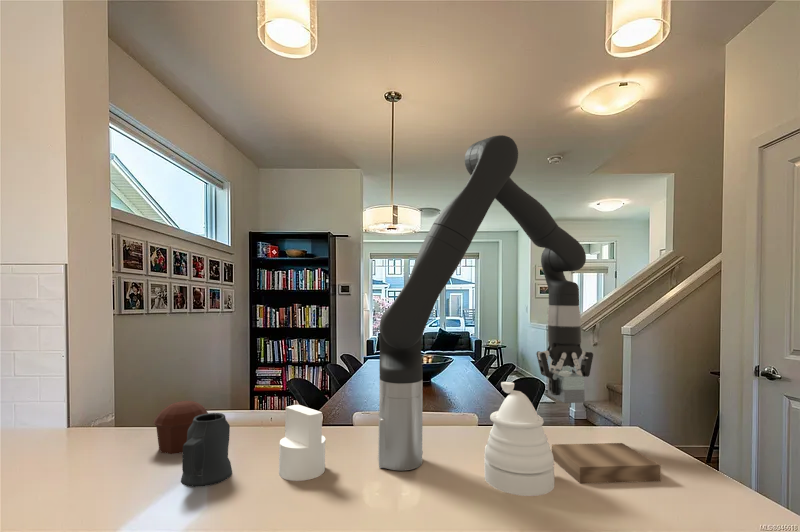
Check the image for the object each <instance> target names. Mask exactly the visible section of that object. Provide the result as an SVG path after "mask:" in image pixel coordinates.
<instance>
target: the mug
mask: <svg viewBox="0 0 800 532" xmlns="http://www.w3.org/2000/svg"><path fill="white" fill-rule="evenodd" d="M230 426H231V425H230V424H229V422H228V421H227V419H226V414H224V413H221V412H209V413H207V414H202V415H198V416H196V417H195V418H194V419H193V423H192V424H191V426H190V427H189V429H188V432H187V442H186V443H185V444H184V445H183V453H182V455H181V456H182V457H181V458H182V459H181V460H182V461H181V463H182V464H181V465H182V466H181V468H182V474H181V478H180V483H181V484H182V485H183V486H186V487H191V488H200V487H201V488H203V487H209V486H213V485H216V484H220V483H222V482H224V481H227V480H228V479H229V478H230V477H232V475H233V469H232V464H231V460H230V458H229V444H230V433H231V432H230Z"/></svg>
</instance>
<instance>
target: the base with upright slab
mask: <svg viewBox="0 0 800 532" xmlns="http://www.w3.org/2000/svg"><path fill="white" fill-rule="evenodd" d="M284 418H285V422H284V423H285V424H284V425H285V426H284V428H285V429H284V437H282V438H281V439H280V440H279V450H278V451H279V452H278V453H279V454H278V456H279V457H278V476H279V477H280V478H281V479H284V480H286V481H291V482H300V481H301V482H303V481H307V480H308V481H309V480H311V479H312V480H313V479H315V478H318V477H320V476H322V475H323V474H324V472H325V471H326V437H325V436H324V435H323V434H322V433H323V428H322V427H323V412H322V411H319V410H316V409H314V408H310V407H307V406H304V405H301V404H292V405H289V406H286V407H285V417H284Z"/></svg>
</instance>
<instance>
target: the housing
mask: <svg viewBox="0 0 800 532" xmlns="http://www.w3.org/2000/svg"><path fill="white" fill-rule="evenodd" d="M556 380H558V395H553V394H551V392H550V391H549V378H548V377H547V395H548V396H549V397H551V398H554V399H555V400H557V401H559V402H562V403H564V404H577V403H578V404H580V403H581V404H583V403H585V400H586V399H585V377H584V376H581V375H578V374H575V373H572V372H571V371H568V370H561V371H560V372H559V374H558V378H557V379H556Z"/></svg>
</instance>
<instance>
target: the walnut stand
mask: <svg viewBox="0 0 800 532" xmlns="http://www.w3.org/2000/svg"><path fill="white" fill-rule="evenodd" d="M551 452H552V454H553V458H554V461H553V462H555V463H556V464H558V466H560V468H562V469H563V470H564V471H565V472H567V473H568V475H570V476H571V477H572V478H573V479H574V480H575V481H577V482H578V483H579V484H610V483H611V484H612V483H638V482H639V483H646V482H647V483H648V482H662V477H661V475H662V473H661V472H662V471H661V464H660V463H658V462H656V461H655V460H652V459H650V458H649V457H647V456H646V455H643V454H642V453H640V452H639V451H637V450H635V449H633V448H632V447H630V446H628V445H627V444H625V443H622V442H611V443H609V442H608V443H603V442H602V443H565V444H561V443H560V444H559V443H558V444H557V443H555V444H551Z"/></svg>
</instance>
